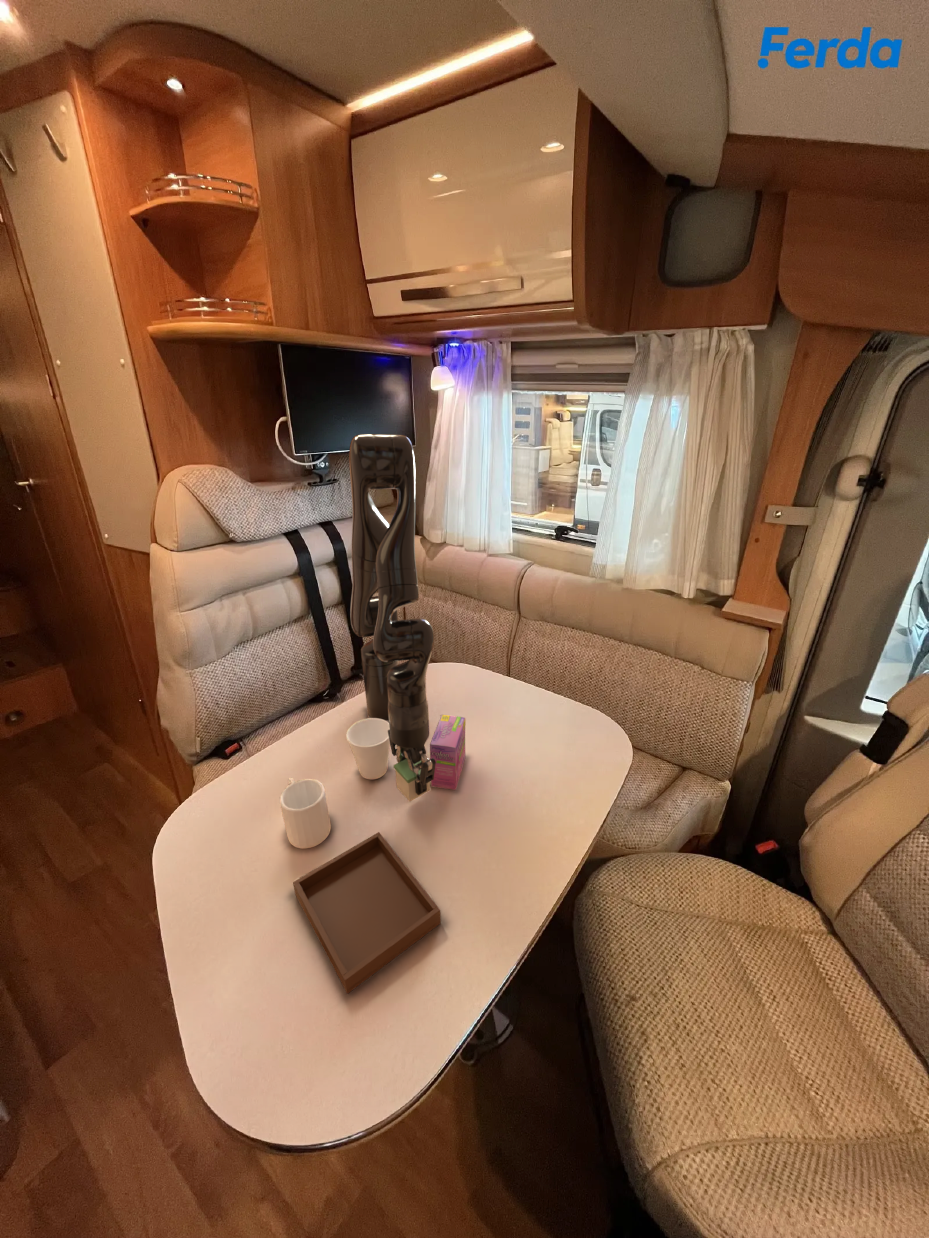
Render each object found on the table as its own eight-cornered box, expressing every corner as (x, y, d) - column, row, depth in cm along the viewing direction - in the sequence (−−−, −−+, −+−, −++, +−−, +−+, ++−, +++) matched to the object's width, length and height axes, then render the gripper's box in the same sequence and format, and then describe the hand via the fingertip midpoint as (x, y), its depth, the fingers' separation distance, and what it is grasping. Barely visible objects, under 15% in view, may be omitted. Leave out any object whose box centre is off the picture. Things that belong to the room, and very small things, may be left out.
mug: (313, 797, 105) (306, 761, 101) (337, 834, 97) (331, 796, 92) (275, 816, 101) (266, 779, 97) (297, 856, 92) (288, 817, 88)
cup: (342, 771, 112) (336, 732, 107) (377, 750, 119) (373, 712, 114) (369, 794, 106) (364, 753, 101) (405, 769, 113) (401, 730, 108)
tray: (295, 894, 85) (292, 881, 84) (380, 843, 95) (379, 831, 93) (347, 994, 71) (344, 980, 70) (441, 923, 81) (440, 909, 79)
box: (456, 790, 107) (455, 747, 102) (430, 787, 108) (428, 743, 103) (466, 758, 116) (465, 716, 111) (442, 755, 117) (440, 713, 112)
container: (395, 787, 103) (393, 764, 100) (417, 775, 106) (415, 753, 103) (409, 803, 99) (407, 780, 96) (431, 790, 102) (430, 768, 99)
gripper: (447, 727, 91) (448, 796, 99) (405, 692, 101) (409, 756, 109) (412, 744, 87) (417, 814, 94) (372, 705, 97) (379, 772, 105)
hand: (413, 783), depth 101 cm, fingers closed on container, 5 cm apart
